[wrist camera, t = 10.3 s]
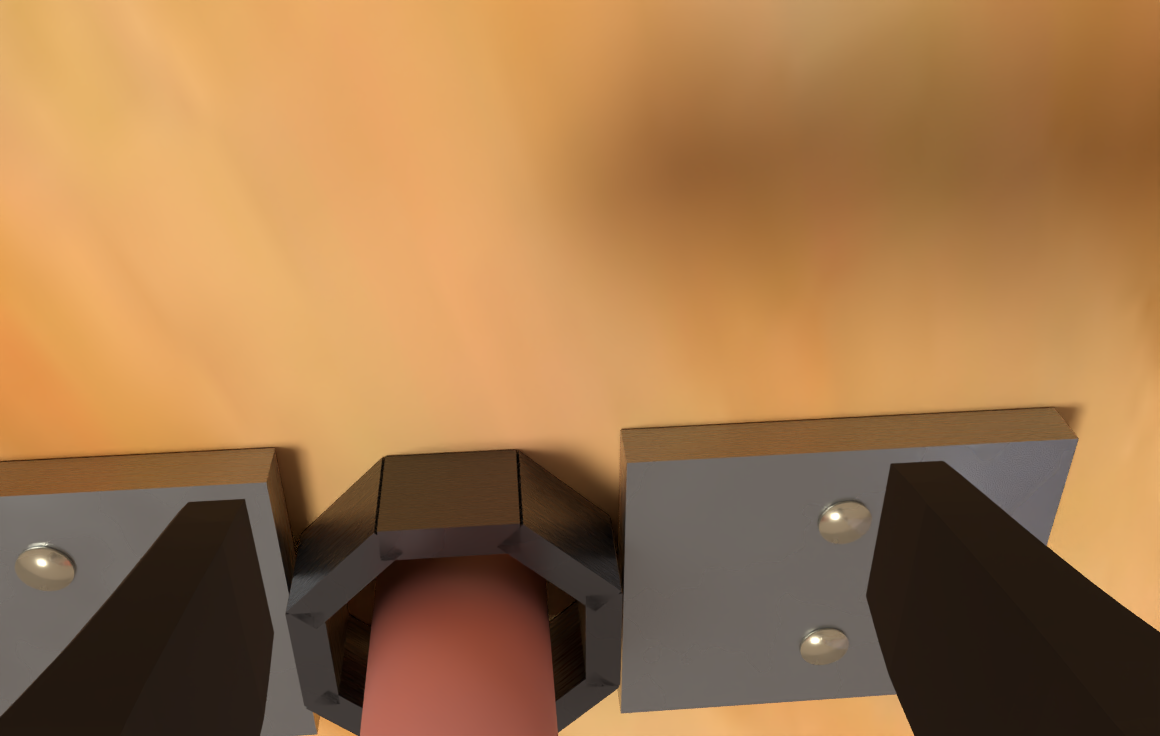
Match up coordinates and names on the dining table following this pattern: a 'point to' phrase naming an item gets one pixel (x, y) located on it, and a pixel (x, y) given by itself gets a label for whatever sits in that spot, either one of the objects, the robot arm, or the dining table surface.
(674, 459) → the hinge
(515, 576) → the hinge pin
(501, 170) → the dining table surface
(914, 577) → the robot arm
